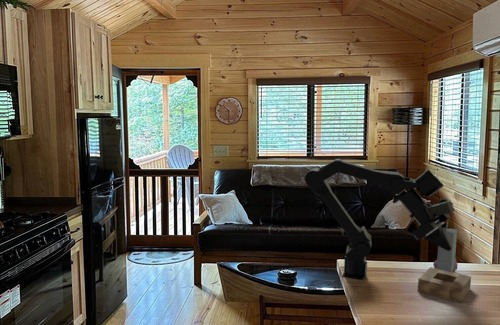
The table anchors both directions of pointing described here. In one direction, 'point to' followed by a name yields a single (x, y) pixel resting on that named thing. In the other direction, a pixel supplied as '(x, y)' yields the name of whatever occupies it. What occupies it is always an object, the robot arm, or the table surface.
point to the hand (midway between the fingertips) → (451, 248)
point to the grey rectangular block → (447, 257)
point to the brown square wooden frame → (444, 284)
